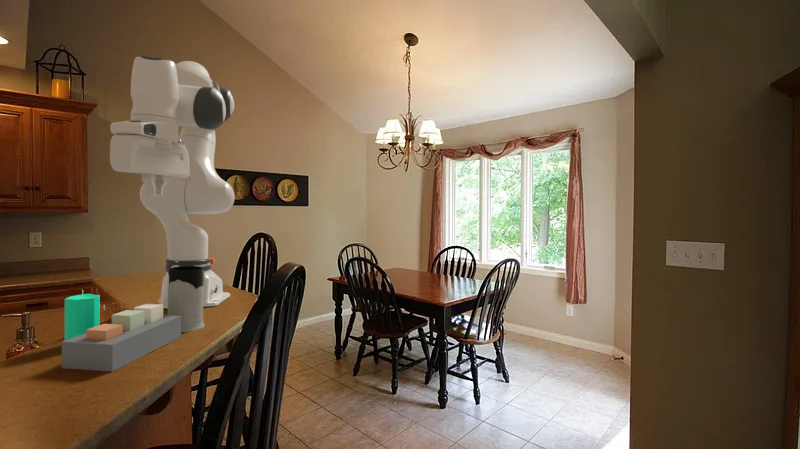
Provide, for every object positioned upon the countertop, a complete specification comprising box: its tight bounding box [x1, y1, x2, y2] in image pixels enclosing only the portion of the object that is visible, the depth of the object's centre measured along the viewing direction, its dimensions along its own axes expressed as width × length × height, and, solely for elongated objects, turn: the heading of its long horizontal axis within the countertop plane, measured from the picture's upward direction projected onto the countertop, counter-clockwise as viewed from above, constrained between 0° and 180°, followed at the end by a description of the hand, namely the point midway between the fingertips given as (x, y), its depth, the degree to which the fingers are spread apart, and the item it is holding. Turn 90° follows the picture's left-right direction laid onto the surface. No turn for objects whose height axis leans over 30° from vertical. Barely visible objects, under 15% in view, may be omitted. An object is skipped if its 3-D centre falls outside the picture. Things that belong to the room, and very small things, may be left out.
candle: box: [64, 289, 101, 341], centre depth 86 cm, size 6×6×12 cm
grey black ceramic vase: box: [167, 266, 205, 333], centre depth 103 cm, size 9×14×15 cm, turn 3°
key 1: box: [86, 323, 123, 341], centre depth 77 cm, size 4×4×6 cm
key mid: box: [111, 309, 145, 331], centre depth 83 cm, size 4×4×6 cm
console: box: [61, 314, 182, 373], centre depth 83 cm, size 20×10×5 cm, turn 176°
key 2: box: [133, 303, 164, 323], centre depth 89 cm, size 4×4×6 cm
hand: (154, 196), depth 87 cm, fingers closed
